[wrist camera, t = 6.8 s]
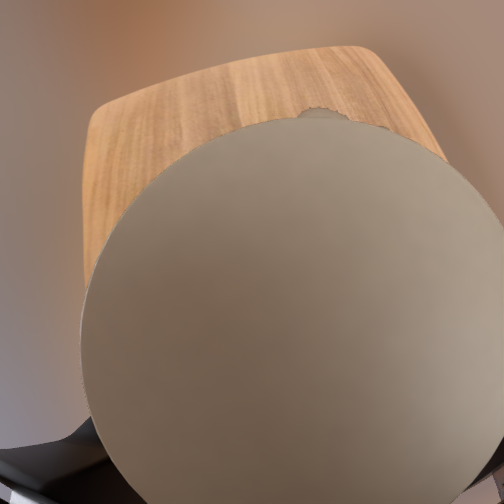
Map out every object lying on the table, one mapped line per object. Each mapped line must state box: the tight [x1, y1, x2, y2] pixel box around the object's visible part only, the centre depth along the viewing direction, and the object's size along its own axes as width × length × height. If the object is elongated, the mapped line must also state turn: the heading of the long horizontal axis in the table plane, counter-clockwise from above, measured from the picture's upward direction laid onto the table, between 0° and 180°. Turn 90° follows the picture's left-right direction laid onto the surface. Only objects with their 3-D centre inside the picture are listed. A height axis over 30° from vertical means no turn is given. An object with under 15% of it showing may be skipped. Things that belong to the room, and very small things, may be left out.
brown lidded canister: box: [79, 117, 504, 504], centre depth 8 cm, size 6×6×11 cm
